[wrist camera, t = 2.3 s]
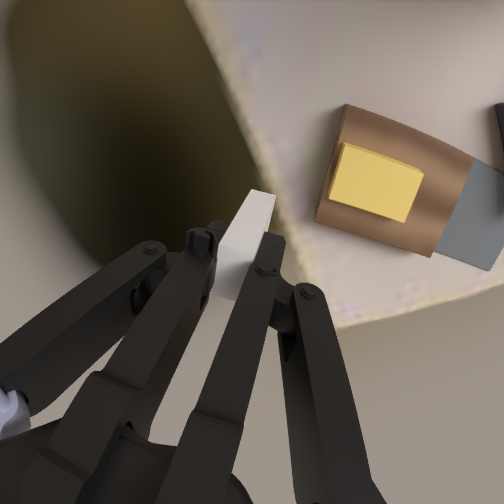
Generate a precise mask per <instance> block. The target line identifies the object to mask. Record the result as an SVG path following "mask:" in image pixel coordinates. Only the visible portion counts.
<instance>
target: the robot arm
mask: <svg viewBox="0 0 504 504" xmlns="http://www.w3.org/2000/svg"><path fill="white" fill-rule="evenodd" d="M275 199H276V195H272V194H268V193H264V192H260V191H257V190H253V189H252V190H251V191H250V193H249V195H248V196H247V198H246V199H245V201H244V203H243V204H242V206H241V208H240V209H239V211H238V213H237V214H236V216H235V218H234V220H233V221H232V223H229V222H225V221H221V220H215V221H213V222H211V223H210V224H209V226H208V227H207V229H205V228H194V229H191V230H189V231H187V234H186V247H185V250H184V251H183V252H166V247H165V245H163V244H162V243H160V242H157V241H145V242H142V243H140V244H139V245H137V246H135V247H134V248H132V249H131V250H129V251H128V252H126V253H125V254H123V255H122V256H120V257H118V258H117V259H115V260H114V261H113V262H111V263H109V264H108V265H106V266H105V267H103V268H102V269H100V270H99V271H98V272H96V273H95V274H93V275H92V276H90V277H89V278H87V279H86V280H84V281H83V282H82V283H80V284H79V285H77V286H76V287H74V288H73V289H72V290H70V291H69V292H67V293H66V294H65V295H63V296H62V297H60V298H59V299H58V300H56V301H55V302H54V303H52V304H51V305H50V306H48V307H47V308H45V309H44V310H43V311H41V312H40V313H39V314H37V315H36V316H35V317H34V318H32V319H31V320H30V321H28V322H27V323H26V324H24V325H23V326H22V327H21V328H19V329H18V330H17V331H15V332H14V333H13V334H12V335H11V336H9V337H8V338H7V339H6V340H4V341H3V342H2V343H0V504H253V502H252V500H251V498H250V496H249V494H248V493H247V491H246V489H245V487H244V486H243V485H242V483H241V482H240V481H239V480H238V479H237V478H236V476H234V475H233V474H232V473H231V472H232V469H233V465H234V462H235V458H236V455H237V451H238V447H239V444H240V440H241V436H242V432H243V427H244V420H245V416H246V412H247V408H248V404H249V401H250V396H251V393H252V389H253V385H254V381H255V377H256V373H257V369H258V365H259V361H260V357H261V353H262V349H263V345H264V341H265V337H266V333H267V328H268V326H270V327H272V328H274V329H276V330H277V331H278V334H277V336H278V343H279V353H280V362H281V369H282V379H283V388H284V397H285V407H286V416H287V426H288V435H289V445H290V455H291V466H292V476H293V486H294V493H295V499H296V503H297V504H387V503H386V502H385V500H384V498H383V497H382V495H381V493H380V492H379V490H378V489H377V487H376V485H375V484H374V482H373V480H372V479H371V474H370V469H369V464H368V459H367V454H366V450H365V445H364V441H363V436H362V432H361V428H360V424H359V419H358V415H357V411H356V407H355V403H354V399H353V395H352V391H351V387H350V383H349V379H348V376H347V372H346V368H345V364H344V360H343V357H342V353H341V350H340V346H339V343H338V339H337V336H336V332H335V329H334V325H333V322H332V318H331V315H330V312H329V308H328V305H327V302H326V299H325V295H324V293H323V292H322V290H321V289H320V288H318V287H317V286H315V285H313V284H310V283H299V284H297V285H296V286H293V285H291V284H289V283H288V282H286V281H285V280H284V279H283V278H282V276H281V274H280V268H281V264H282V259H283V254H284V250H285V245H286V242H285V239H284V237H283V236H280V235H276V234H273V233H269V232H267V231H268V227H269V223H270V219H271V215H272V211H273V207H274V203H275ZM211 288H212V294H214V295H218V296H221V297H225V298H228V299H231V300H235V301H236V303H235V305H234V308H233V310H232V313H231V315H230V318H229V321H228V323H227V326H226V329H225V331H224V334H223V337H222V339H221V342H220V344H219V347H218V349H217V352H216V355H215V357H214V360H213V363H212V365H211V368H210V371H209V373H208V376H207V378H206V381H205V383H204V386H203V389H202V391H201V394H200V396H199V399H198V402H197V404H196V407H195V409H194V410H193V411H192V412H191V414H190V416H189V418H188V420H187V423H186V425H185V428H184V431H183V433H182V436H181V438H180V441H179V443H178V446H169V445H162V444H155V443H151V442H149V441H148V437H149V434H150V427H151V424H152V421H153V419H154V416H155V414H156V412H157V410H158V408H159V405H160V403H161V401H162V399H163V397H164V394H165V392H166V390H167V388H168V386H169V384H170V381H171V379H172V377H173V375H174V373H175V371H176V369H177V366H178V364H179V362H180V360H181V358H182V355H183V353H184V351H185V349H186V347H187V345H188V343H189V341H190V338H191V336H192V334H193V332H194V330H195V328H196V326H197V324H198V322H199V319H200V317H201V315H202V313H203V311H204V309H205V307H206V305H207V303H208V300H209V293H210V291H211ZM124 335H125V336H124ZM123 336H124V337H123ZM122 337H123V339H122V341H121V342H120V344H119V345H118V347H117V348H116V350H115V351H114V353H113V354H112V356H111V358H110V359H109V361H108V362H107V364H106V366H105V367H104V368H103V370H101V371H94V372H92V373H91V374H90V375H89V376H88V377H87V378H86V380H85V382H84V383H83V385H82V386H81V388H80V390H79V391H78V393H77V394H76V396H75V398H74V399H73V401H72V403H71V404H70V406H69V408H68V409H67V411H66V413H65V414H64V416H63V417H62V418H60V419H58V420H55V421H52V422H50V423H47V424H45V425H42V426H39V427H37V428H34V429H31V430H30V428H31V423H30V417H32V416H34V415H36V414H38V413H39V412H41V411H42V410H43V409H45V408H46V407H47V406H49V405H50V404H51V403H52V402H54V401H55V400H56V399H57V398H58V397H59V396H60V395H61V394H62V393H63V392H64V391H65V390H66V389H67V388H68V387H69V386H70V385H72V384H73V383H74V382H75V381H76V380H77V379H78V378H79V377H80V376H81V375H82V374H83V373H84V372H85V371H86V370H87V369H89V368H90V367H91V366H92V365H93V364H94V363H95V362H96V361H97V360H98V359H99V358H100V357H101V356H103V354H105V353H106V352H107V351H108V350H109V349H110V348H111V347H112V346H113V345H114V344H116V342H118V341H119V340H120V339H121V338H122Z"/></svg>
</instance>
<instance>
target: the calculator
mask: <svg viewBox="0 0 504 504" xmlns="http://www.w3.org/2000/svg"><path fill="white" fill-rule="evenodd" d="M495 107H496V112H497V116H498V120H499V125H500V130H501V135H502V140H503V146H504V103H499V104H496V106H495Z"/></svg>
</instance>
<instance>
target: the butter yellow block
mask: <svg viewBox="0 0 504 504" xmlns="http://www.w3.org/2000/svg"><path fill="white" fill-rule="evenodd" d="M423 176H424V174H423V173H422V172H421V171H420V170H419V169H417V168H415V167H413V166H410V165H408V164H405V163H402V162H400V161H397V160H395V159H392V158H389V157H387V156H384V155H381V154H378V153H376V152H373V151H370V150H367V149H364V148H361V147H358V146H355V145H352V144H349V143H346V142H343V146H342V149H341V153H340V156H339V159H338V163H337V166H336V169H335V172H334V176H333V179H332V182H331V185H330V189H329V192H328V194H329V199H331V200H335V201H338V202H341V203H345V204H348V205H351V206H354V207H357V208H361V209H364V210H367V211H370V212H373V213H376V214H379V215H382V216H385V217H388V218H391V219H394V220H397V221H399V222H402V223H404V222H405V220H406V217H407V215H408V213H409V210H410V208H411V206H412V203H413V201H414V198H415V196H416V194H417V191H418V189H419V186H420V183H421V181H422V178H423Z"/></svg>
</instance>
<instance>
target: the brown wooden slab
mask: <svg viewBox="0 0 504 504" xmlns="http://www.w3.org/2000/svg"><path fill="white" fill-rule="evenodd" d="M343 142H346V143H349V144H352V145H355V146H358V147H361V148H364V149H367V150H370V151H373V152H376V153H378V154H381V155H384V156H387V157H389V158H392V159H395V160H397V161H400V162H402V163H405V164H408V165H410V166H413V167H415V168H417V169H419V170H420V171H421V172H422V173H423V174H424V176H423V178H422V181H421V183H420V186H419V189H418V191H417V194H416V196H415V198H414V201H413V203H412V206H411V208H410V210H409V213H408V215H407V217H406V220H405V222H404V223H402V222H399V221H397V220H394V219H391V218H388V217H385V216H382V215H379V214H376V213H373V212H370V211H367V210H364V209H361V208H357V207H354V206H351V205H348V204H345V203H341V202H338V201H335V200H331V199H329V194H328V192H329V189H330V185H331V182H332V179H333V176H334V172H335V169H336V166H337V163H338V159H339V156H340V153H341V149H342V146H343ZM473 161H474V158H473V157H471V156H469V155H468V154H466V153H464V152H462V151H461V150H459V149H457V148H455V147H453V146H451V145H449V144H447V143H444V142H442V141H440V140H438V139H436V138H434V137H432V136H430V135H427V134H425V133H423V132H421V131H418V130H416V129H414V128H411V127H409V126H406V125H404V124H401V123H399V122H396V121H394V120H391V119H389V118H386V117H383V116H381V115H378V114H375V113H372V112H369V111H367V110H364V109H361V108H358V107H355V106H352V105H348V104H346V106H345V110H344V113H343V117H342V121H341V124H340V128H339V132H338V135H337V139H336V142H335V146H334V149H333V153H332V156H331V160H330V163H329V167H328V170H327V173H326V177H325V180H324V183H323V187H322V190H321V193H320V196H319V200H318V203H317V206H316V209H315V218H314V222H317V223H320V224H323V225H327V226H330V227H334V228H337V229H340V230H344V231H347V232H350V233H354V234H357V235H360V236H364V237H367V238H370V239H373V240H376V241H380V242H383V243H386V244H389V245H392V246H395V247H398V248H401V249H404V250H407V251H410V252H413V253H416V254H419V255H422V256H425V257H428V258H430V257H431V255H432V253H433V251H434V249H435V247H436V245H437V243H438V241H439V239H440V237H441V235H442V233H443V231H444V229H445V227H446V225H447V223H448V221H449V219H450V217H451V214H452V212H453V210H454V208H455V205H456V203H457V201H458V199H459V196H460V194H461V191H462V189H463V187H464V184H465V182H466V179H467V177H468V174H469V171H470V169H471V166H472V163H473Z"/></svg>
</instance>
